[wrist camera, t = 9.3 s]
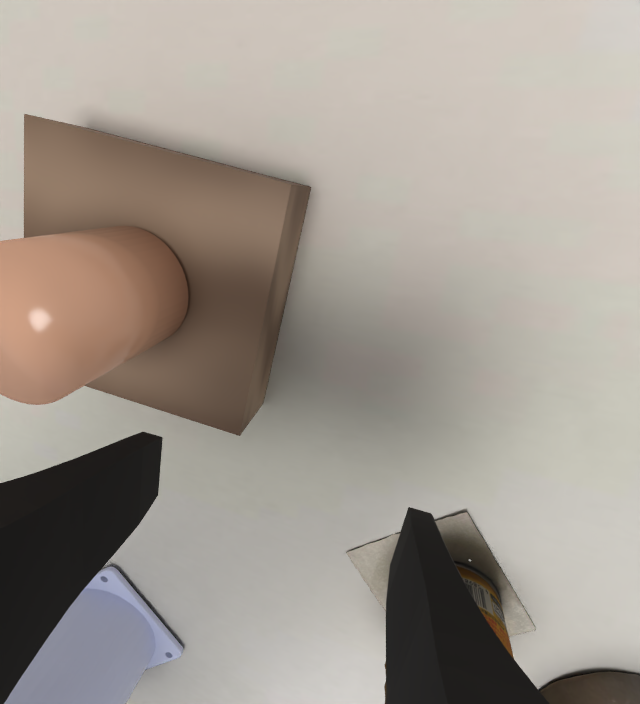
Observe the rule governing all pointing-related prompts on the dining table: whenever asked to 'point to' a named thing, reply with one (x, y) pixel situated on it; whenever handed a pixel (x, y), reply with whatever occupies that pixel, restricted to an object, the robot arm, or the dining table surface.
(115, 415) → the dining table surface
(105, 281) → the terracotta cylinder
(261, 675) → the dining table surface
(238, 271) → the walnut block
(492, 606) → the condiment
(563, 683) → the pillar candle
